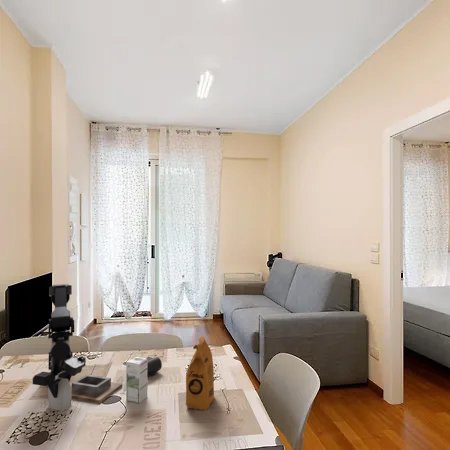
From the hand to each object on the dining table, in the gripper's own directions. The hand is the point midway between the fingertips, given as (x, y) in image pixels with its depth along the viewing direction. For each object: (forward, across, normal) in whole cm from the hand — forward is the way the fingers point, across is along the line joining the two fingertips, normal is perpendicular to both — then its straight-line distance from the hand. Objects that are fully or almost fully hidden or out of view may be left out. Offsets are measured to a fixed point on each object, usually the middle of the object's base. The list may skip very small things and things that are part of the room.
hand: (59, 395), depth 121 cm
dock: (+4, +13, -3) cm, 14 cm away
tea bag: (+4, 0, 0) cm, 4 cm away
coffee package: (+4, +18, -46) cm, 50 cm away
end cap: (+4, +33, -16) cm, 37 cm away
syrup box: (+4, +13, -23) cm, 27 cm away
